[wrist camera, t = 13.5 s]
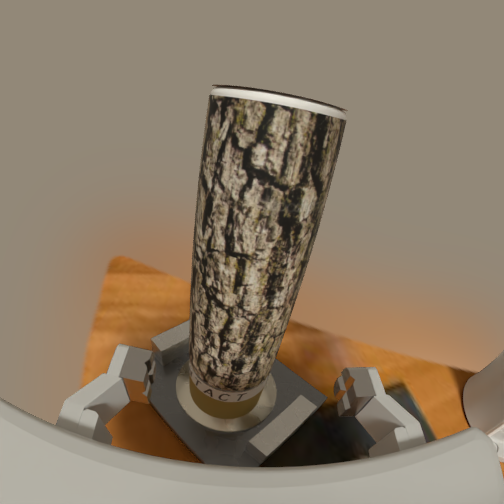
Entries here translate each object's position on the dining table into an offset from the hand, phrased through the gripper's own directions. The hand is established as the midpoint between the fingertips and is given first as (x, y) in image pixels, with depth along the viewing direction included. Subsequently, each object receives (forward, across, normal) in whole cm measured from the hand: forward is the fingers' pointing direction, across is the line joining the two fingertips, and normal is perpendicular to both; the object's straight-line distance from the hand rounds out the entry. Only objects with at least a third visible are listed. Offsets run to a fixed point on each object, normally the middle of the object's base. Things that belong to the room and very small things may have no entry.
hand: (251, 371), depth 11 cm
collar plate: (+8, 0, +16) cm, 18 cm away
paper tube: (+8, 0, +15) cm, 17 cm away
